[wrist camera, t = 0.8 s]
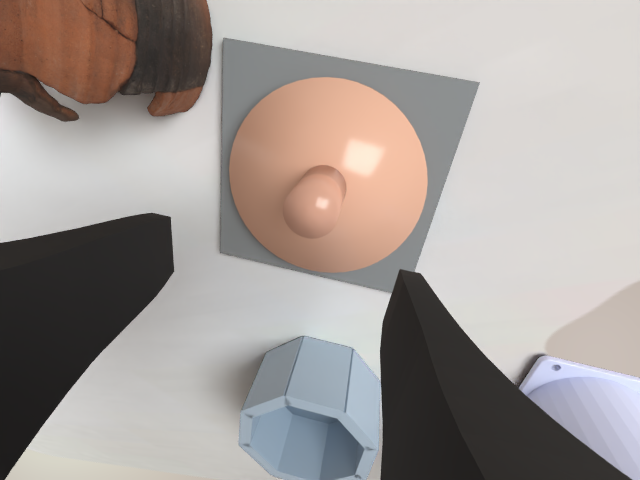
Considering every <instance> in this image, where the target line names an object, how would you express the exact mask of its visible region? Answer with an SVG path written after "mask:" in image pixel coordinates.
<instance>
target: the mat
mask: <svg viewBox="0 0 640 480" xmlns="http://www.w3.org/2000/svg"><path fill="white" fill-rule="evenodd" d="M317 77H335V78H344V79H348V80H352V81H356V82H359V83H361V84H364V85H366V86H369V87H371V88H373V89H374V90H376V91H378V92H379V93H381V94H383V95H384V96H385V97H387V98H388V99H389V100H390V101H392V102H393V103H394V104H395V105H396V106H397V107H398V108H399V109H400V110H401V111H402V112H403V113H404V115H405V116H406V117H407V119H408V120H409V122H410V123H411V125H412V126H413V128H414V130H415V132H416V134H417V136H418V138H419V140H420V143H421V146H422V149H423V152H424V155H425V160H426V165H427V178H428V184H427V194H426V199H425V203H424V207H423V210H422V213H421V215H420V218H419V220H418V222H417V224H416V225H415V227H414V229H413V231H412V232H411V233H410V235H409V236H408V237H407V239H406V240H405V241H404V242H403V243H402V244H401V245H400V246H399V247H398V248H397V249H396V250H395V251H393V252H392V253H391V254H390V255H388V256H387V257H385V258H384V259H382V260H380V261H378V262H377V263H374V264H372V265H370V266H367V267H365V268H361V269H358V270H354V271H348V272H338V273H328V272H318V271H312V270H308V269H304V268H301V267H298V266H295V265H293V264H291V263H288V262H286V261H285V260H283V259H281V258H279V257H277V256H276V255H275V254H273V253H272V252H270V251H269V250H268V249H267V248H265V247H264V246H263V245H262V244H261V243H260V242H259V241H258V240H257V239H256V238H255V237H254V236H253V235H252V233H251V232H250V230H249V229H248V228H247V226H246V225H245V223H244V221H243V220H242V218H241V216H240V214H239V212H238V210H237V207H236V205H235V202H234V199H233V195H232V191H231V185H230V175H229V165H230V155H231V151H232V146H233V143H234V140H235V137H236V135H237V132H238V130H239V128H240V126H241V124H242V123H243V121H244V119H245V118H246V117H247V115H248V114H249V113H250V111H251V110H252V109H253V108H254V107H255V106H256V105H257V104H258V103H259V102H260V101H261V100H262V99H263V98H265V97H266V96H267V95H269V94H270V93H272V92H273V91H275V90H277V89H279V88H281V87H282V86H284V85H287V84H290V83H293V82H296V81H299V80H304V79H309V78H317ZM478 86H479V82H474V81H468V80H462V79H457V78H451V77H445V76H440V75H434V74H428V73H422V72H417V71H411V70H405V69H400V68H394V67H388V66H382V65H377V64H371V63H365V62H360V61H354V60H348V59H342V58H337V57H331V56H325V55H320V54H314V53H308V52H303V51H297V50H291V49H285V48H280V47H274V46H268V45H263V44H257V43H251V42H245V41H240V40H234V39H228V38H223V97H222V165H221V233H220V253H223V254H227V255H232V256H236V257H240V258H244V259H249V260H253V261H257V262H262V263H266V264H270V265H274V266H279V267H283V268H287V269H291V270H296V271H300V272H304V273H309V274H313V275H317V276H321V277H326V278H330V279H334V280H338V281H343V282H347V283H351V284H356V285H360V286H364V287H368V288H373V289H377V290H381V291H386V292H390V293H392V291H393V288H394V285H395V282H396V279H397V276H398V273H399V269H403V270H407V271H411V272H414V271H415V268H416V265H417V262H418V259H419V257H420V254H421V251H422V248H423V245H424V242H425V239H426V236H427V233H428V231H429V228H430V225H431V222H432V219H433V216H434V213H435V210H436V207H437V205H438V202H439V199H440V196H441V193H442V190H443V187H444V184H445V182H446V179H447V176H448V173H449V170H450V167H451V164H452V161H453V158H454V156H455V153H456V150H457V147H458V144H459V141H460V138H461V135H462V132H463V130H464V127H465V124H466V121H467V118H468V115H469V112H470V109H471V106H472V104H473V101H474V98H475V95H476V92H477V89H478Z"/></svg>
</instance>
